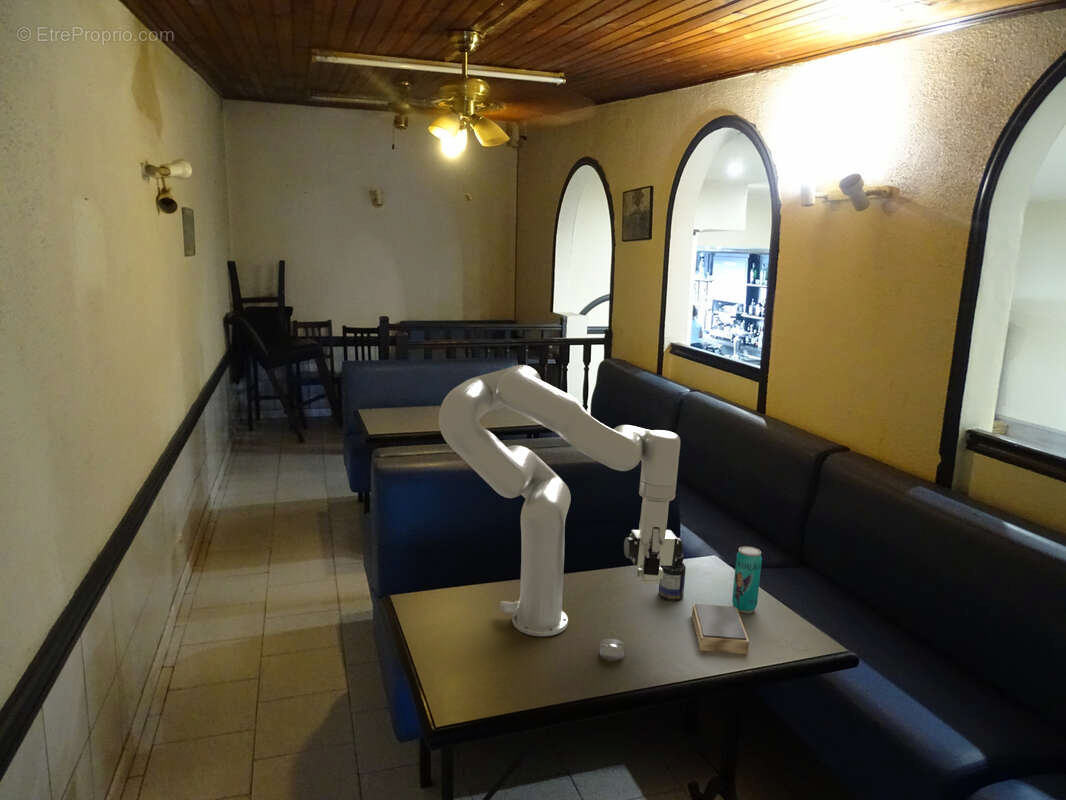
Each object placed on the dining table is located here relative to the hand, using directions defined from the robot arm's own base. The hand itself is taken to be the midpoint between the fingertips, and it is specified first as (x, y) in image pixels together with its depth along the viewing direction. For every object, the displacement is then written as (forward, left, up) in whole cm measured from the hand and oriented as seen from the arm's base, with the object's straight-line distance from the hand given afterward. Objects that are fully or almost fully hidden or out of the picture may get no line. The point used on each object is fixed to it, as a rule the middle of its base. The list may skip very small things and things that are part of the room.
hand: (649, 567), depth 159 cm
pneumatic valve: (0, 0, -3) cm, 3 cm away
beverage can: (+24, +16, -16) cm, 34 cm away
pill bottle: (+8, +20, -16) cm, 27 cm away
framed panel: (+17, +3, -16) cm, 23 cm away
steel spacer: (-8, -9, -16) cm, 20 cm away
